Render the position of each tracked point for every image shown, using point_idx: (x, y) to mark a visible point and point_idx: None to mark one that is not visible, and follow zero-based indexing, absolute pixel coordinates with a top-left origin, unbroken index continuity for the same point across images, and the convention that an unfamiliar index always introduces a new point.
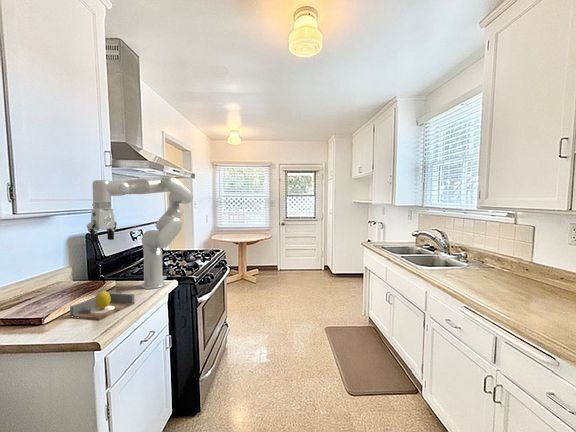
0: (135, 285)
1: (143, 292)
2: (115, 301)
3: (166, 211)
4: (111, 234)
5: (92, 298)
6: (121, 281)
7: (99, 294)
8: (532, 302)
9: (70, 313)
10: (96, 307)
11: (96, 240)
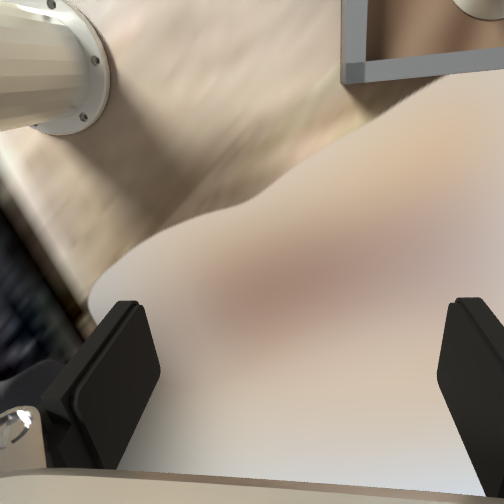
0: (91, 174)
1: (157, 23)
2: None
3: None
4: (106, 380)
5: (472, 66)
6: (82, 282)
7: None
8: None
9: None
10: (481, 17)
11: (487, 324)
